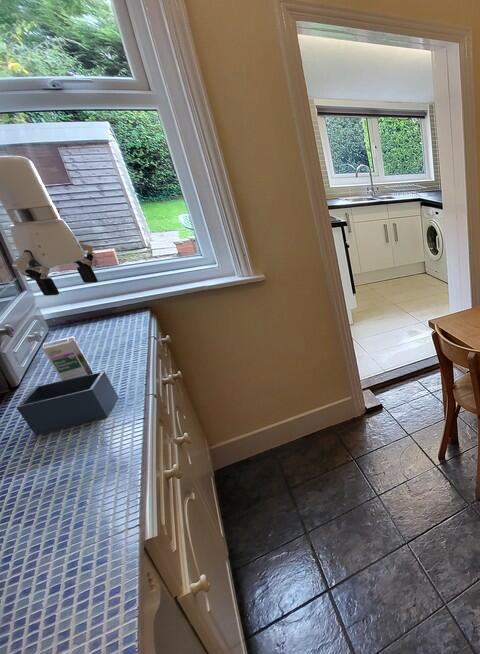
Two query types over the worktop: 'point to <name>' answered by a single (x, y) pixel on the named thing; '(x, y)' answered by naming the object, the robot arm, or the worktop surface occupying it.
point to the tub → (68, 403)
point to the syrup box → (67, 358)
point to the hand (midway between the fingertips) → (72, 288)
